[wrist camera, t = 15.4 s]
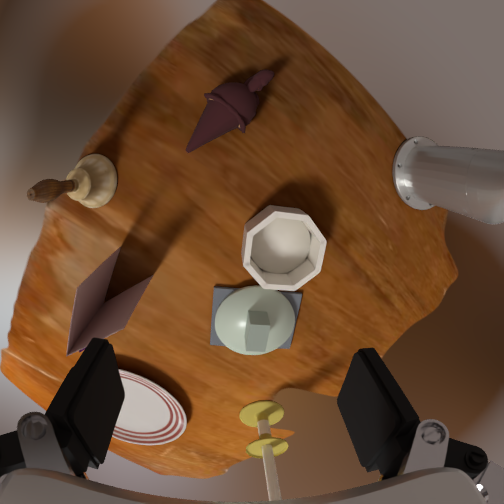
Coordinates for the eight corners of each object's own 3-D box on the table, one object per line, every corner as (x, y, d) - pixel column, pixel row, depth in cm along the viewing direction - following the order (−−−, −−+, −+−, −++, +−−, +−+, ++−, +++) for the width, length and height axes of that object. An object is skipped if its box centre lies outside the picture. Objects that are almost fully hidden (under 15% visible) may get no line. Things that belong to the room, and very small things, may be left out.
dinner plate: (152, 348, 47) (148, 360, 44) (206, 431, 56) (205, 442, 53) (53, 364, 47) (47, 373, 44) (114, 437, 56) (111, 446, 53)
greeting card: (106, 307, 43) (70, 361, 29) (82, 272, 41) (35, 316, 27) (156, 279, 42) (128, 334, 28) (130, 239, 40) (88, 280, 26)
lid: (300, 288, 44) (309, 303, 39) (285, 352, 48) (290, 370, 43) (218, 281, 43) (217, 296, 38) (212, 348, 46) (211, 367, 42)
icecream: (213, 174, 32) (296, 90, 30) (166, 133, 28) (257, 48, 27) (203, 167, 38) (274, 95, 36) (164, 133, 34) (240, 60, 33)
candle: (286, 421, 56) (309, 520, 31) (243, 429, 56) (254, 529, 30) (281, 396, 53) (308, 509, 27) (234, 404, 53) (243, 519, 27)
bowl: (319, 211, 41) (331, 218, 36) (306, 278, 44) (315, 292, 40) (247, 202, 40) (250, 208, 35) (238, 272, 43) (240, 287, 38)
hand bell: (64, 184, 36) (-2, 202, 21) (93, 143, 35) (29, 140, 19) (96, 218, 38) (39, 251, 23) (128, 177, 37) (74, 190, 22)
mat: (301, 292, 45) (302, 294, 44) (288, 346, 48) (289, 348, 48) (214, 286, 43) (213, 287, 43) (210, 342, 47) (210, 344, 46)
